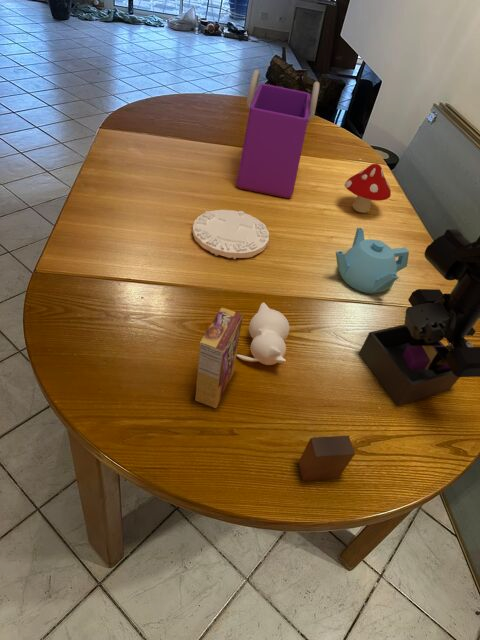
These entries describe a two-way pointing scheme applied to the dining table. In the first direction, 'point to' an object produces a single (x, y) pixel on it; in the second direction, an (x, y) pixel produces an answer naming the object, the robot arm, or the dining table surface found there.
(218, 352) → the candy box
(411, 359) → the chocolate bar
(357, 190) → the decorative mushroom
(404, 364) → the waste bin
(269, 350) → the cat figurine
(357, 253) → the teakettle
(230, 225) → the white round plaque
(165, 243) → the dining table surface
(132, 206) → the dining table surface
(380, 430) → the dining table surface
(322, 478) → the block stand
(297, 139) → the shopping bag
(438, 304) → the robot arm
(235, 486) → the dining table surface
